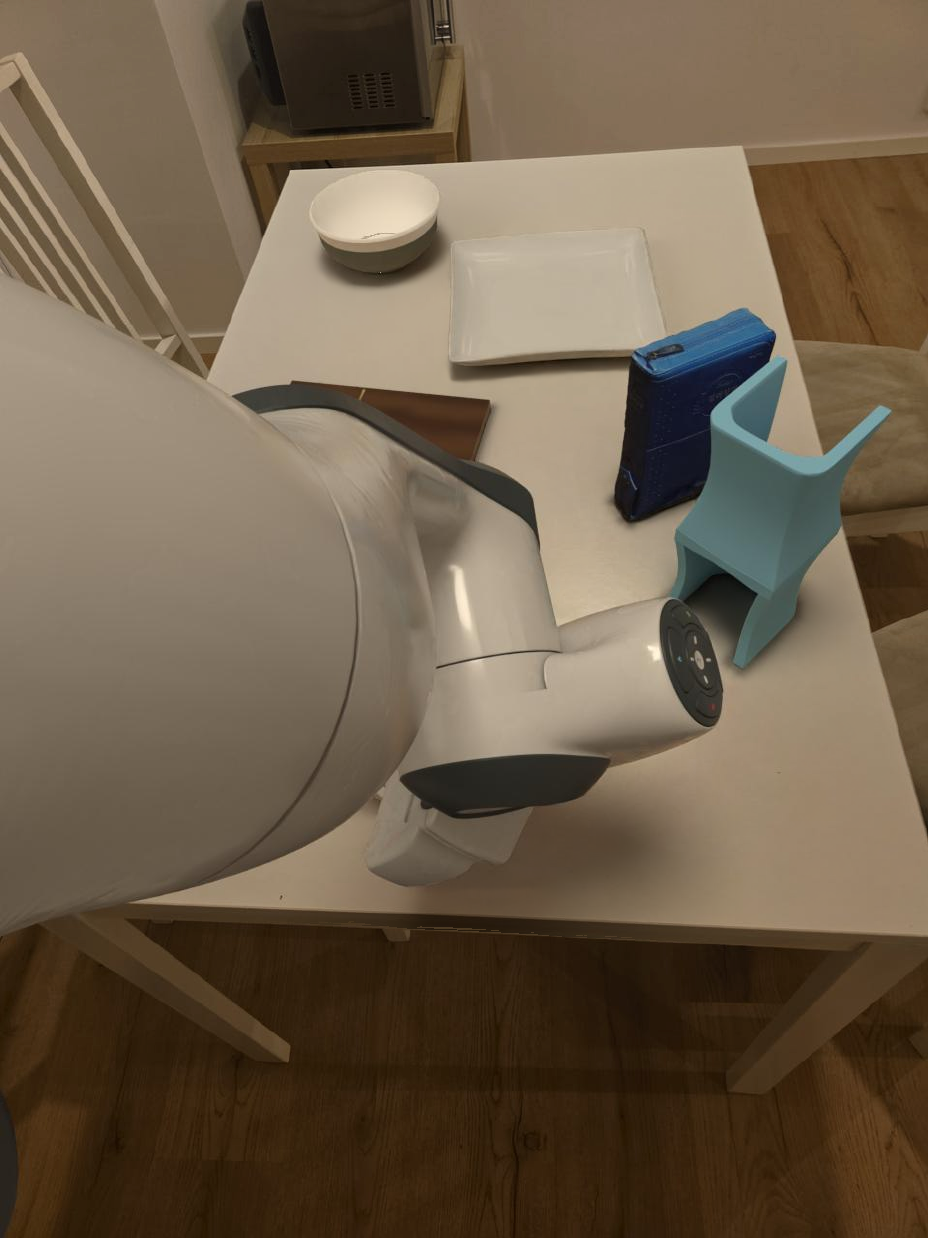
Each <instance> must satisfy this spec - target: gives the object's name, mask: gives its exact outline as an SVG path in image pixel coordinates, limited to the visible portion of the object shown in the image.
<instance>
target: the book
mask: <svg viewBox="0 0 928 1238" xmlns="http://www.w3.org/2000/svg"><path fill="white" fill-rule="evenodd" d="M776 341H777V333H776V332H775V330H774V329H772V328H770V327H768V325H767V324H765V322H764V321H763V319H762V318H761V317H759V316H758V315H756V314H755V313H753V312H751V311H750V309H749V308H747V307H740V308H738V309H735V310H732V311H730V312H728V313H727V314H725V315H723V316H721V317H719V318H717V319H715V320H710V321H706V322H704V323H701V324H699V325H697V326H695V327H693V328H690V329H688V330H682V331H680V332H678V333H676V334H673V335H669V336H668V337H666V338H664V339H662V340H658V341H655V342H652V343H650V344H649V345H647V346H645V347H641V348H638V349H636V350H635V351H633V353H632V354H631V356H630V362H629V367H628V378H627V379H628V380H627V392H626V400H625V412H624V420H623V425H624V431H623V440H622V446H621V454H620V460H619V461H620V462H619V468H618V473H617V476H616V480H615V484H614V491H613V492H614V493H613V500H614V503H615V505H616V507H617V508H618V509H619V511H620V513H621V515H622V516H624V517H625V518H626V519H627V520H629V521H634V520H639V519H642V518H645V517H648V516H650V515H652V514H654V513H656V512H658V511H661V510H663V509H665V508H667V507H671V506H674V505H675V504H678V503H680V502H684V501H686V500H689V499H691V498H693V497H695V496H697V495H700V494H701V493H702V491H703V488H704V486H705V484H706V481H707V478H708V473H709V469H710V462H711V423H710V416H711V412H712V411H713V409H714V408H715V407H716V406H717V405H718V404H719V403H720V402H721V401H722V400H723V399H725V398H726V397H727V396H728V395H729V394H731V393H732V392H733V391H734V390H736V389H737V388H738V387H739V386H740V385H742V384H743V383H744V382H745V381H747V380H748V379H749V378H750V377H751V376H753V375H754V374H755V373H756V372H758V371H759V370H760V369H761V368H762V367H764V366H765V365H766V364H767V363H768V362H770V361H771V356H772V353H773V351H774V349H775V348H774V347H775V345H776Z"/></svg>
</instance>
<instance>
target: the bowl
mask: <svg viewBox="0 0 928 1238" xmlns="http://www.w3.org/2000/svg"><path fill="white" fill-rule="evenodd" d="M441 203H442V200H441V194H440V191H439V189H438V187H437V185H436V184H435V183H433V181H431V180H430V179H428V178H427V177H426V176H424V175H422V174H419V173H417V172H412V171H410V170H409V171H408V170H404V169H403V170H402V169H373V170H366V171H362V172H361V171H360V172H357V173H354V174H351V175H348V176H345V177H342V178H341V179H337V180H336V181H334V182H332V183H330V184H328V185H327V186H326V187H324V188H323V189H322V190H321V191H319V192H318V194H317V195H316V196H315V197H314V199H313V200H312V202H311V204H310V205H309V210H308V218H309V222H310V224H311V225H312V227H313V228H314V230H315V231H316V232H317V234H318V237H319V240H320V243H321V245H322V247H323V248H324V250H325V251H326V252H327V253H328V254H329V255H330V256H331V258H333V259H334V261H336V262H337V263H340V264H341V265H343V266H344V267H345V266H346V267H347V268H350V269H352V270H355V271H358V272H364V273H367V274H371V275H388V274H392V273H395V272H398V271H400V270H402V269H403V268H405V267H407V266H408V265H409V264H411V263H413V262H414V261H416V260H417V259H418V258H419V257H420V256H421V255H422V254H423V253H424V252H425V251H426V250H427V249H428V248H429V246H430V245H431V243H432V242H433V240H434V237H435V235H436V232H437V229H438V214H439V209H440V206H441ZM377 233H395V234H380V235H375V236H372V237H369V238H367V239H361V238H363V237H364V236H370V235H374V234H377ZM380 272H381V273H380Z"/></svg>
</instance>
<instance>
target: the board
mask: <svg viewBox="0 0 928 1238" xmlns="http://www.w3.org/2000/svg"><path fill="white" fill-rule="evenodd" d="M289 384H298V385H311V386H317V387H323V388H327V389H331V390H334V391H338V392H341V393H344V394H346V395H349V396H351V397H354V398H356V399H358V400H360V401H362V402H364V403H366V404H368V405H370V406H372V407H374V408H376V409H377V410H379V411H381V412H383V413H384V414H386V415H388V416H389V417H391V418H393V419H394V420H396V421H398V422H399V423H401V424H402V425H404V426H406V427H407V428H409V429H410V430H412V431H413V432H415V433H417V434H418V435H420V436H421V437H423V438H424V439H426V440H428V441H429V442H431V443H432V444H434V445H436V446H437V447H439V448H440V449H442V450H443V451H445V452H447V453H448V454H450V455H452V456H453V457H455V458H457V459H463V460H470V461H475V458H476V455H477V452H478V449H479V446H480V444H481V443H480V442H481V440H482V437H483V434H484V430H485V428H486V425H487V421H488V418H489V415H490V413H491V409H492V408H491V400H490V399H486V398H485V399H484V398H475V397H465V396H456V395H446V394H435V393H427V392H426V393H425V392H414V391H406V390H405V391H404V390H394V389H384V388H375V387H374V388H373V387H364V386H363V387H362V386H353V385H344V384H342V385H341V384H333V383H324V382H312V381H302V380H291V381H290V383H289Z"/></svg>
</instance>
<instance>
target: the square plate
mask: <svg viewBox="0 0 928 1238" xmlns="http://www.w3.org/2000/svg"><path fill="white" fill-rule="evenodd" d="M449 248H450V249H449V264H450V308H449V309H450V310H449V326H448V328H449V329H448V342H447V343H448V345H447V358H448V360H449V362H451V363H453V364H458V365H461V366H465V367H467V366H468V367H472V366H473V367H474V366H475V367H476V366H477V367H480V366H495V365H507V364H518V363H528V362H529V363H530V362H541V361H553V360H571V359H588V358H589V359H591V358H620V357H623V358H625V357H631V354H632V353H633V351H635V350H636V349H638V348H641V347H645V346H647V345H649V344H650V343H652V342H655V341H658V340H662V339H664V338H666V337H668V336H670V334H669V330H668V327H667V322H666V319H665V315H664V310H663V307H662V302H661V298H660V295H659V291H658V286H657V282H656V277H655V272H654V267H653V263H652V257H651V253H650V248H649V242H648V238H647V235H646V232H645V230H644V229H643V228H642V227H624V228H623V227H622V228H609V229H608V228H604V229H583V230H565V231H551V232H536V233H535V232H534V233H522V234H509V235H499V236H489V237H480V238H470V239H469V238H468V239H459V240H454V241H452V242H451V244H450V247H449Z"/></svg>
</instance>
